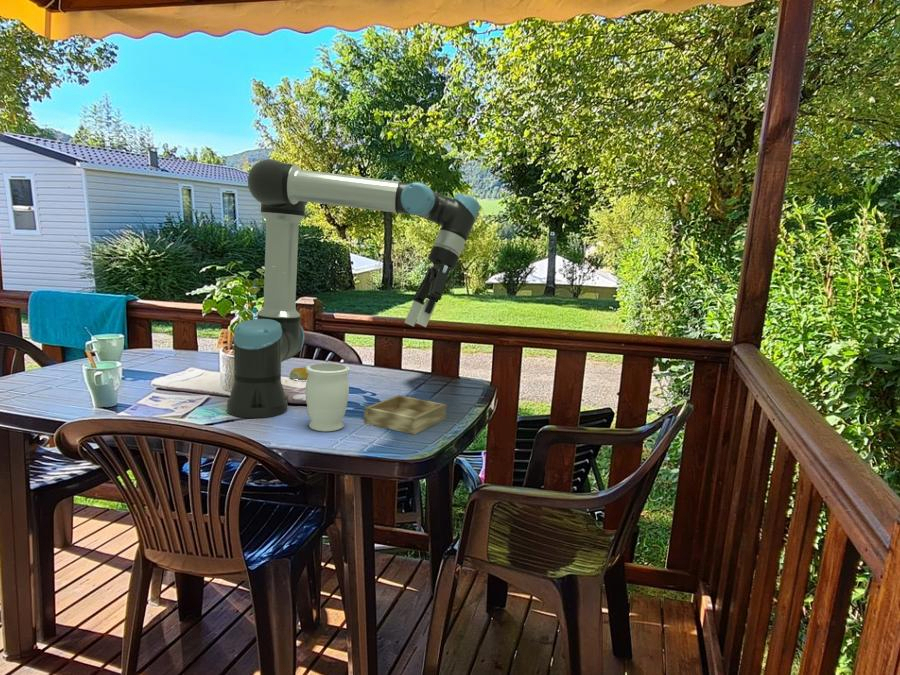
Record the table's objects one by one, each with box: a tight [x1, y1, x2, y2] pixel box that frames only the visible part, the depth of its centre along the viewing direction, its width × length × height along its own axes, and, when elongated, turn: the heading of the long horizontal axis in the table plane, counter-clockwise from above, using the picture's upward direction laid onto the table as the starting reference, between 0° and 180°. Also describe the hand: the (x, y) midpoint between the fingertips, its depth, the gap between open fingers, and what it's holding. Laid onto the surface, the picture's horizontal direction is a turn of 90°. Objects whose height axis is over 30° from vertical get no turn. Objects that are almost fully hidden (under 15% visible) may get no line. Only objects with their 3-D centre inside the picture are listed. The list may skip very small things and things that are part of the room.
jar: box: [305, 362, 350, 432], centre depth 142 cm, size 11×10×15 cm
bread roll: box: [289, 366, 308, 380], centre depth 191 cm, size 8×9×4 cm
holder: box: [363, 394, 447, 436], centre depth 151 cm, size 15×16×4 cm
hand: (414, 324), depth 152 cm, fingers open, 13 cm apart
